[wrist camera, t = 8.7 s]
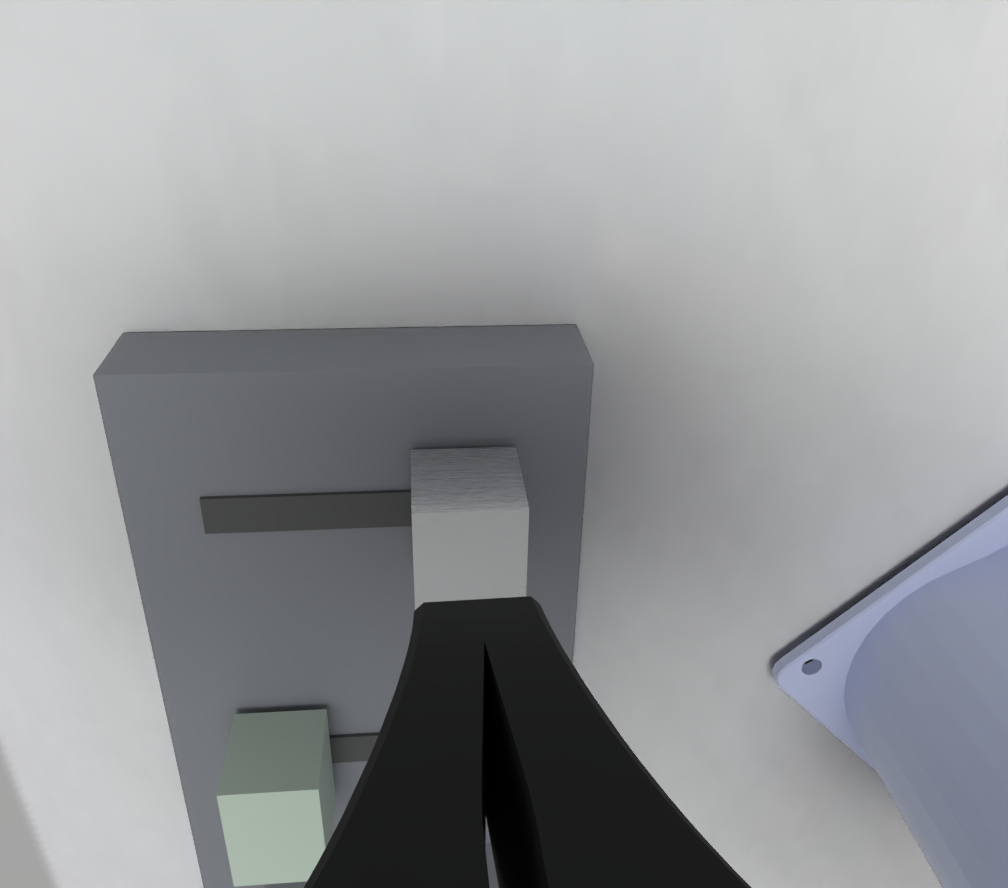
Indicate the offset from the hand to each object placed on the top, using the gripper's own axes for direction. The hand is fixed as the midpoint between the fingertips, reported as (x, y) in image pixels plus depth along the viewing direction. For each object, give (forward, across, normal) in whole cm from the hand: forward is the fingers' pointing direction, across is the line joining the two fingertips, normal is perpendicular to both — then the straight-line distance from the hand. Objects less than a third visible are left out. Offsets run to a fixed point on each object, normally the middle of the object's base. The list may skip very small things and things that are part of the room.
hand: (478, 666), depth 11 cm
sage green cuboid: (+7, +4, +9) cm, 12 cm away
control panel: (+9, +2, +9) cm, 13 cm away
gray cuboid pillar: (+7, 0, +3) cm, 8 cm away
